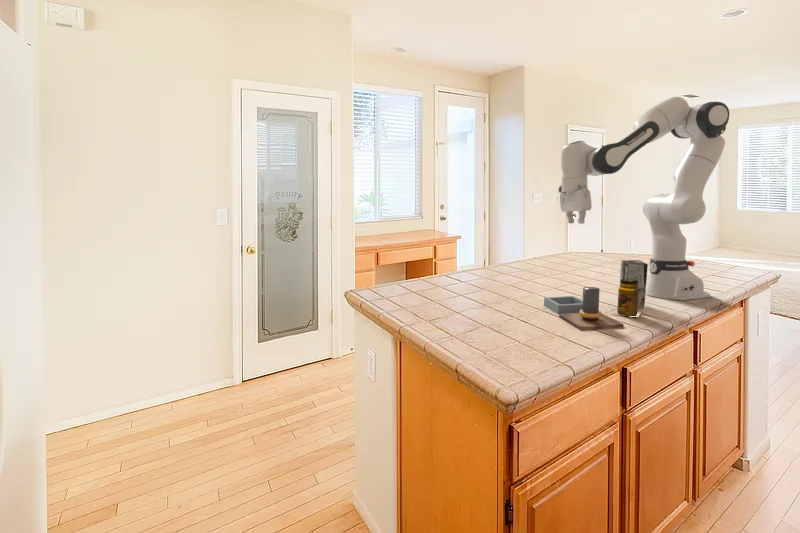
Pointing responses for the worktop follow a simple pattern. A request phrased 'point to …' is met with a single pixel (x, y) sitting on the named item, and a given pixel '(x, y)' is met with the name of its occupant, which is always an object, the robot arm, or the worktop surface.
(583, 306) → the plug
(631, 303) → the condiment
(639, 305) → the coffee box
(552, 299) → the socket
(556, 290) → the worktop surface
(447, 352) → the worktop surface
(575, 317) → the walnut board
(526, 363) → the worktop surface
